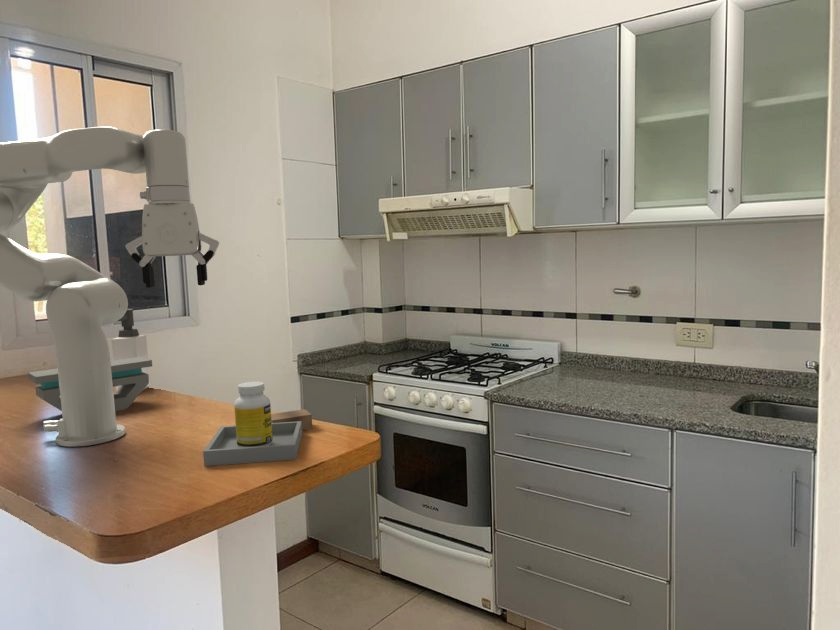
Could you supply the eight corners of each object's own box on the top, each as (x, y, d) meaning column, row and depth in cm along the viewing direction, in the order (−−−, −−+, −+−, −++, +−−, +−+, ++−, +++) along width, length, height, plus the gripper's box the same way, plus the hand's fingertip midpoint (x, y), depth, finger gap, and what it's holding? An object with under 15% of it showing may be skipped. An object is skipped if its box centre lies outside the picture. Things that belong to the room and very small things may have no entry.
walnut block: (273, 435, 128) (272, 420, 128) (267, 429, 133) (266, 414, 132) (312, 428, 132) (311, 414, 131) (305, 423, 136) (304, 409, 136)
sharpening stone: (40, 425, 143) (35, 377, 141) (33, 419, 148) (28, 372, 147) (155, 403, 159) (151, 360, 158) (144, 398, 165) (140, 356, 164)
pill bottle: (264, 451, 116) (260, 388, 115) (230, 450, 117) (226, 388, 116) (278, 440, 122) (274, 380, 121) (246, 439, 123) (242, 380, 122)
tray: (204, 466, 111) (203, 451, 111) (221, 439, 127) (221, 426, 126) (295, 459, 113) (294, 445, 112) (302, 433, 128) (301, 421, 128)
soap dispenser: (111, 394, 171) (104, 312, 169) (127, 387, 180) (120, 308, 178) (136, 393, 171) (128, 311, 169) (150, 386, 180) (143, 307, 178)
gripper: (115, 197, 119) (123, 289, 121) (211, 194, 121) (217, 285, 123) (128, 199, 127) (136, 286, 128) (219, 197, 128) (225, 283, 130)
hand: (176, 286), depth 126 cm, fingers open, 9 cm apart
